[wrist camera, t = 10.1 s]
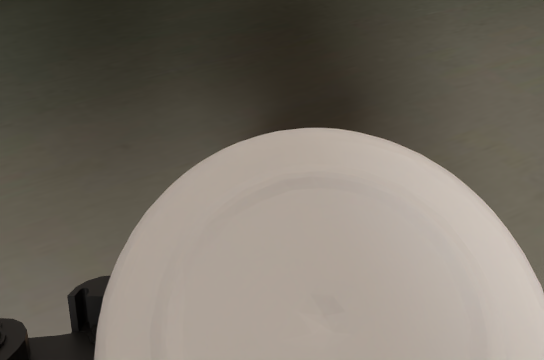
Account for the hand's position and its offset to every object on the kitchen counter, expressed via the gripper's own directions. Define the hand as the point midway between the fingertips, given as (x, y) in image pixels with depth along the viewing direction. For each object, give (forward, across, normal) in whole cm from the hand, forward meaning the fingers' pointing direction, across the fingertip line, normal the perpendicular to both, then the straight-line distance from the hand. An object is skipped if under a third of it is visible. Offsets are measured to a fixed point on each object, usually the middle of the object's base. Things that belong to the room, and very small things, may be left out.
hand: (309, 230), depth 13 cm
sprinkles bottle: (0, 0, -6) cm, 6 cm away
